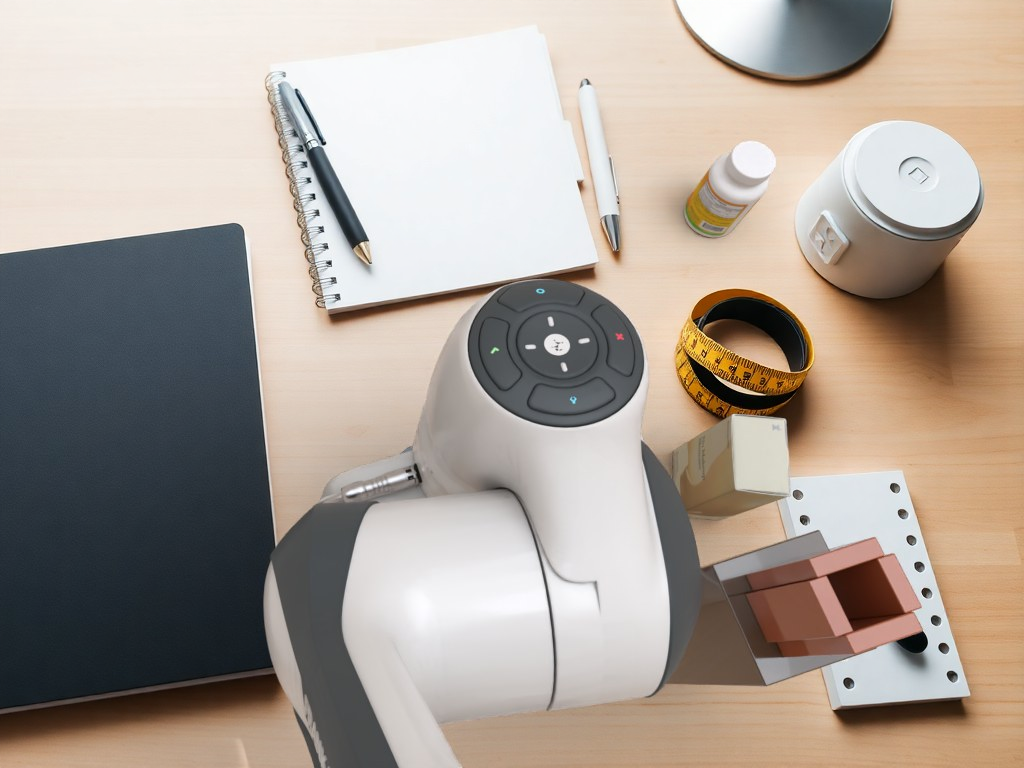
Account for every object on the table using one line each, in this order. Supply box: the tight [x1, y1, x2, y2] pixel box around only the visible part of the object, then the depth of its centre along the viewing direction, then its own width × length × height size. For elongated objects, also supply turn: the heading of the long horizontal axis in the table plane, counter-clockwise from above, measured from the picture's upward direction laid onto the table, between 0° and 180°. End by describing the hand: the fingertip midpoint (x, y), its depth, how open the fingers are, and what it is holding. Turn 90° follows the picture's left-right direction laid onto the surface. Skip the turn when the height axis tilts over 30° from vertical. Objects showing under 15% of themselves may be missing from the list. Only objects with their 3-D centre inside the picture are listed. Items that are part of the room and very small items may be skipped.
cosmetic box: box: [672, 413, 792, 521], centre depth 68 cm, size 6×4×12 cm
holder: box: [665, 529, 924, 687], centre depth 55 cm, size 7×7×31 cm
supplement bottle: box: [683, 140, 777, 239], centre depth 79 cm, size 5×5×10 cm
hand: (460, 497), depth 60 cm, fingers closed
